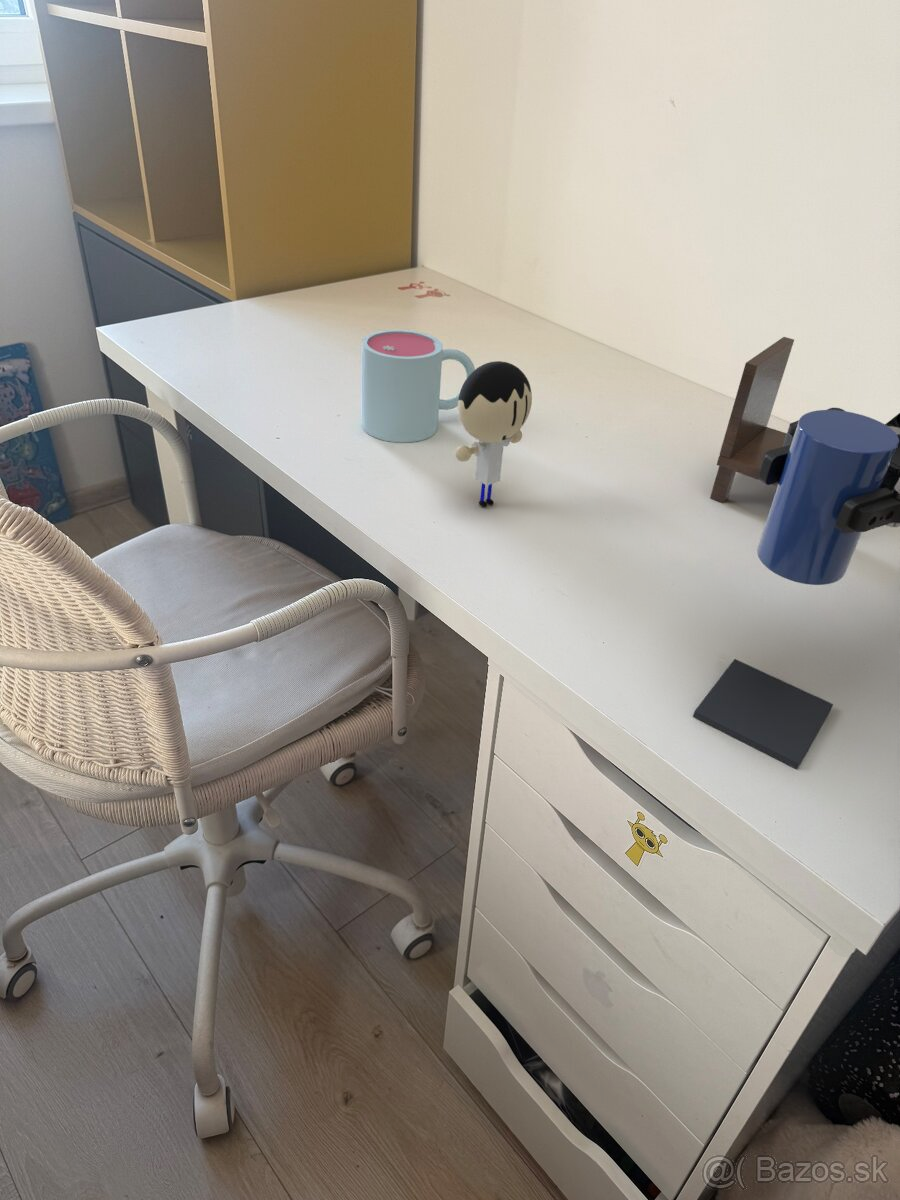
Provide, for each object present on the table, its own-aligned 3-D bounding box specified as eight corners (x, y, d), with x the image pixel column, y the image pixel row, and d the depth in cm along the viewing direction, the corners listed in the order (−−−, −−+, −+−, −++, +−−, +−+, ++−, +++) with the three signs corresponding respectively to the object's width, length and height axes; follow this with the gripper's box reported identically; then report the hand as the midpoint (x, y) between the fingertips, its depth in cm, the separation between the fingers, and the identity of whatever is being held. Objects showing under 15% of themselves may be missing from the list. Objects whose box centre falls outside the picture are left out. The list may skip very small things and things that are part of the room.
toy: (475, 530, 82) (489, 384, 73) (432, 502, 85) (440, 361, 76) (535, 504, 86) (555, 365, 77) (492, 479, 90) (506, 344, 81)
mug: (369, 444, 95) (370, 360, 89) (355, 411, 102) (355, 330, 96) (483, 437, 98) (491, 355, 93) (461, 405, 106) (467, 327, 100)
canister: (808, 530, 61) (854, 405, 55) (864, 577, 57) (921, 446, 51) (739, 543, 60) (779, 414, 53) (792, 592, 55) (842, 458, 49)
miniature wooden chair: (847, 499, 92) (900, 367, 83) (816, 539, 85) (871, 398, 76) (744, 464, 97) (783, 336, 88) (706, 498, 90) (745, 362, 81)
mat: (830, 709, 64) (833, 704, 64) (797, 769, 59) (799, 763, 58) (732, 664, 68) (734, 658, 67) (692, 716, 62) (694, 710, 62)
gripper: (902, 358, 63) (738, 395, 56) (1092, 439, 53) (920, 495, 46) (867, 447, 67) (712, 491, 61) (1036, 537, 58) (873, 600, 51)
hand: (803, 492), depth 54 cm, fingers closed on canister, 6 cm apart
